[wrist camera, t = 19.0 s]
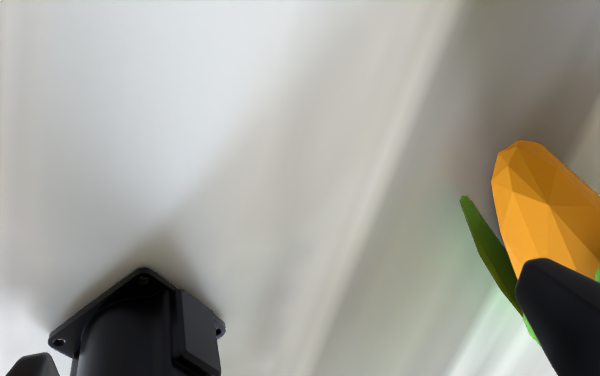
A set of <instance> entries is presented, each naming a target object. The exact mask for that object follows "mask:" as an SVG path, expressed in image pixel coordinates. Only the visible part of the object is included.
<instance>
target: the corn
mask: <svg viewBox="0 0 600 376" xmlns="http://www.w3.org/2000/svg"><path fill="white" fill-rule="evenodd" d="M491 185H492V192H493V198H494V203H495V208H496V213H497V218H498V223H499V228H500V232H501V235H502V238H503V241H504V244H505V247H506V249H505V248H504V247H503V245H502V244H501V243H500V241H499V240H498V238H497V237H496V236H495V234H494V233H493V232H492V230H491V229H490V227H489V226H488V225H487V223H486V222H485V221H484V219H483V218H482V216H481V215H480V213H479V212H478V210H477V209H476V207H475V206H474V204H473V202H472V201H471V200H470V199H469V198H468V197H467V196H462V197H461V199H460V203H461V207H462V209H463V212H464V215H465V217H466V220H467V223H468V226H469V228H470V231H471V234H472V236H473V239H474V242H475V244H476V247H477V250H478V252H479V255H480V257H481V258H482V260H483V262H484V263H485V265H486V267H487V268H488V270H489V271H490V273H491V275H492V276H493V278H494V280H495V281H496V283H497V284H498V286H499V288H500V289H501V291H502V292H503V293H504V295H505V296H506V297H507V298H508V300H509V301H510V302H511V303H512V305H513V306H514V307H515V308H516V310H517V311H518V312H519V313H520V315H521V316H522V317H523V320H524V322H525V325H526V327H527V329H528V332H529V334H530V336H531V337H532V338H533V339H534V340H535V341H536V342H537V343H538V344H539V345H540V343H539V341H538V339H537V338H536V336H535V334H534V332H533V330H532V328H531V326H530V324H529V323H528V321H527V319H526V317H525V315H524V313H523V311H522V310H521V308H520V306H519V304H518V302H517V300H516V297H515V287H516V284H517V281H518V278H519V275H520V273H521V270H522V267H523V264H524V263H525V262H526V261H528V260H531V259H537V258H548V259H551V260H553V261H555V262H557V263H559V264H561V265H564V266H566V267H568V268H570V269H572V270H574V271H576V272H578V273H581V274H583V275H585V276H587V277H589V278H591V279H593V280H595V281H597V282H600V196H599V195H598V194H597V193H595V192H594V191H593V190H592V189H591V188H590V187H589V186H588V185H587V184H585V183H584V182H583V181H582V180H581V179H580V178H579V177H578V176H576V175H575V174H574V173H573V172H572V171H571V170H570V169H569V168H567V167H566V166H565V165H564V164H563V163H562V162H561V161H560V160H559V159H557V158H556V157H555V156H554V155H553V154H552V153H551V152H550V151H548V150H547V149H546V148H545V147H544V146H543V145H542V144H541V143H536V142H530V141H525V140H518V141H516V142H515V143H513V144H511V145H510V146H508V147H507V148H505V149H503V150H502V151H500V152H498V156H497V160H496V164H495V168H494V172H493V176H492V180H491ZM506 250H507V251H506ZM540 346H541V345H540Z"/></svg>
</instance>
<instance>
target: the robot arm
mask: <svg viewBox="0 0 600 376" xmlns="http://www.w3.org/2000/svg"><path fill="white" fill-rule="evenodd" d="M140 277H147V278H146V279H141V278H140ZM515 297H516V300H517V302H518V304H519V306H520V308H521V310H522V311H523V313H524V315H525V317H526V319H527V321H528V323H529V324H530V326H531V328H532V330H533V332H534V334H535V336H536V338H537V339H538V341H539V343H540V345H541V347H542V349H543V351H544V353H545V354H546V356H547V358H548V360H549V361H550V363H551V365H552V367H553V368H554V370H555V372H556V373H557V375H558V376H600V282H597V281H595V280H593V279H591V278H589V277H587V276H585V275H583V274H581V273H578V272H576V271H574V270H572V269H570V268H568V267H566V266H564V265H561V264H559V263H557V262H555V261H553V260H551V259H548V258H537V259H531V260H528V261H526V262H525V263H524V264H523V267H522V270H521V273H520V275H519V278H518V281H517V284H516V287H515ZM225 332H226V329H225V323H224V322H223V321H222V320H220V319H219V318H218V317H216V316H215V315H214V314H213V312H212V311H211V310H210V309H209V308H207V307H206V306H205V305H203V304H202V303H200V302H199V301H198V300H196V299H195V298H194V297H192V296H191V295H190V294H188V293H187V292H185V291H184V290H183V289H180V288H176V287H175V286H174V285H172V284H171V283H170V282H168V281H167V280H165V279H164V278H163V277H161V276H160V275H159V274H157V273H156V272H154V271H153V270H152V269H150V268H147V267H142V268H138V269H136V270H135V271H134V272H132V273H131V274H130V275H128V276H127V277H125V278H124V279H123V280H121V281H120V282H119V283H117V284H116V285H115V286H113V287H112V288H111V289H109V290H108V291H106V292H105V293H104V294H102V295H101V296H100V297H98V298H97V299H96V300H94V301H93V302H92V303H90V304H89V305H87V306H86V307H85V308H83V309H82V310H81V311H79V312H78V313H77V314H75V315H74V316H73V317H71V318H70V319H68V320H67V321H66V322H64V323H63V324H62V325H60V326H59V327H58V328H56V329H55V330H54V331H52V332H51V333H50V335H49V339H48V345H49V346H50V347H51V348H53V349H54V350H56V351H58V352H60V353H62V354H64V355H66V356H68V357H70V358H72V359H73V360H72V366H71V373H70V376H221V366H220V359H219V352H218V345H217V339H219V338H220V337H222V336H223V335H224V334H225ZM58 339H62V340H58ZM6 376H60V375H59V373H58V371H57V368H56V366H55V363H54V361H53V359H52V357H51V355H50V354H49V353H47V352H46V353H45V352H43V353H38V354H33V355H27V356H24V357H22V358H20V359H19V360H18V361H17V362H16V363H15V365H14V366H13V367H12V368H11V370H10V371H9V372H8V373H7V375H6Z"/></svg>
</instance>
